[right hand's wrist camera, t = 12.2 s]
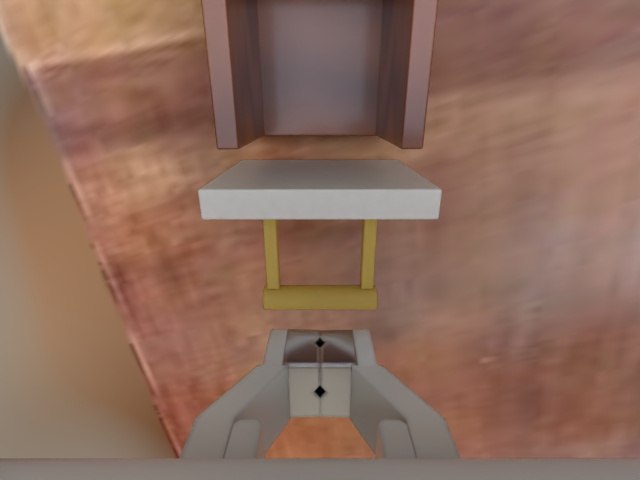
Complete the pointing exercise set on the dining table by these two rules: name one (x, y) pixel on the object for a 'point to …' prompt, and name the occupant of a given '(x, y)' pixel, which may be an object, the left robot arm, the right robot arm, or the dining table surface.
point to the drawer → (319, 121)
